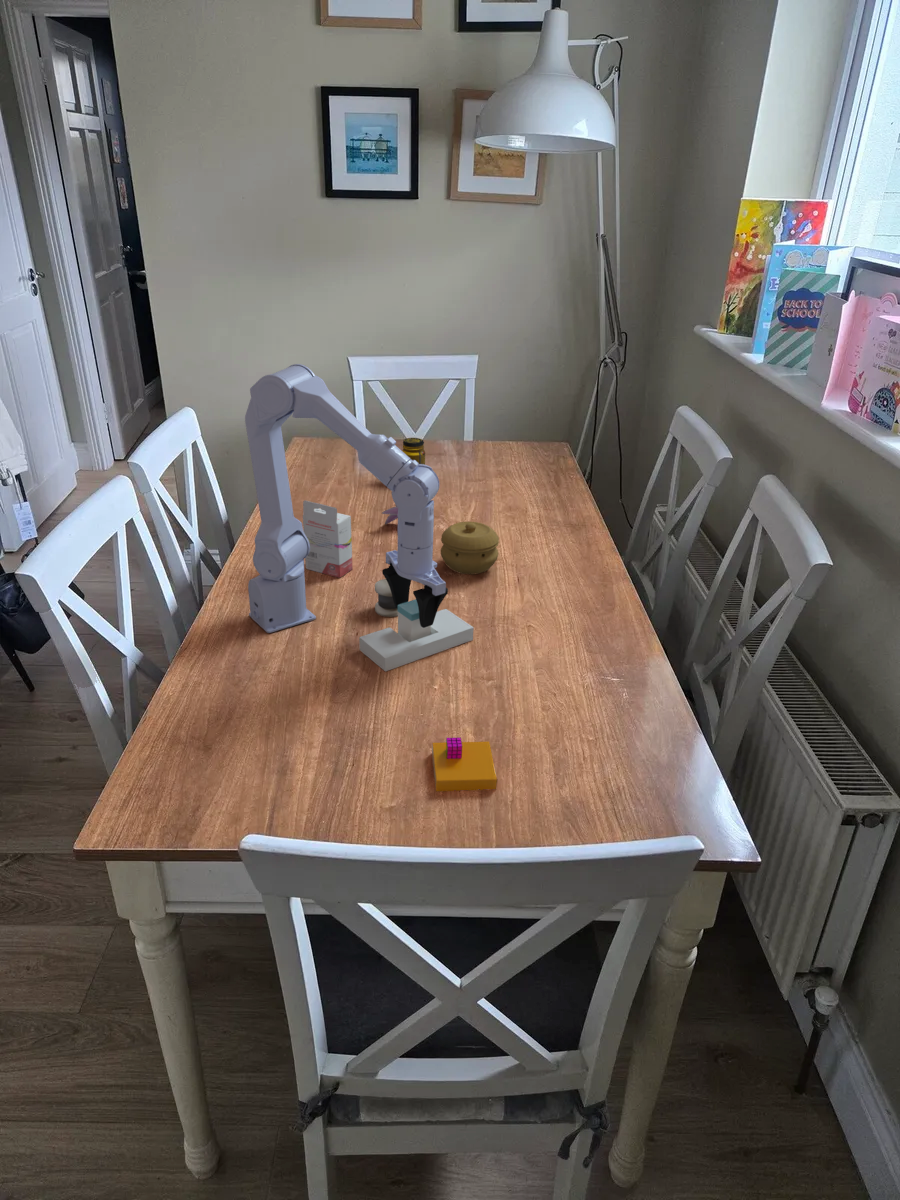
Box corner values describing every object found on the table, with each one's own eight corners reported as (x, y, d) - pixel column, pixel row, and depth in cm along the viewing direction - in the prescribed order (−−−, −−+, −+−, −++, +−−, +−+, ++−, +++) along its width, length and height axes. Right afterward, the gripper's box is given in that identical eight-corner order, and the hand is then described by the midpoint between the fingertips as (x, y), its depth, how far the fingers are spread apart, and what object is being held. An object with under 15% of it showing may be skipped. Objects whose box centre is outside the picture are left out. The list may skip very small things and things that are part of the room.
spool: (385, 619, 145) (385, 595, 143) (369, 607, 149) (368, 583, 147) (411, 611, 148) (411, 587, 146) (394, 599, 152) (394, 575, 150)
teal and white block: (411, 651, 136) (411, 614, 133) (397, 640, 139) (397, 605, 136) (430, 644, 138) (431, 608, 135) (416, 634, 141) (417, 598, 138)
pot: (507, 565, 167) (510, 520, 163) (480, 586, 158) (482, 539, 154) (458, 551, 172) (460, 508, 168) (429, 571, 163) (430, 526, 159)
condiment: (395, 487, 206) (395, 441, 200) (408, 477, 213) (408, 433, 207) (421, 491, 204) (422, 445, 198) (433, 481, 211) (435, 436, 205)
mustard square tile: (488, 753, 114) (490, 729, 112) (496, 792, 107) (498, 767, 105) (431, 754, 113) (432, 730, 111) (435, 794, 106) (436, 768, 104)
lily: (441, 527, 187) (428, 487, 186) (439, 526, 175) (426, 484, 174) (391, 542, 187) (379, 502, 187) (386, 543, 176) (373, 500, 175)
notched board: (385, 671, 130) (385, 658, 129) (359, 649, 136) (359, 637, 135) (472, 639, 140) (473, 627, 139) (445, 620, 146) (445, 608, 144)
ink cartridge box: (353, 569, 163) (352, 501, 156) (339, 578, 159) (337, 509, 152) (319, 560, 167) (315, 492, 160) (304, 569, 163) (300, 500, 156)
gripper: (462, 552, 127) (458, 627, 133) (410, 522, 137) (409, 593, 144) (425, 563, 123) (423, 639, 130) (375, 530, 133) (375, 603, 140)
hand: (413, 616), depth 136 cm, fingers open, 7 cm apart
